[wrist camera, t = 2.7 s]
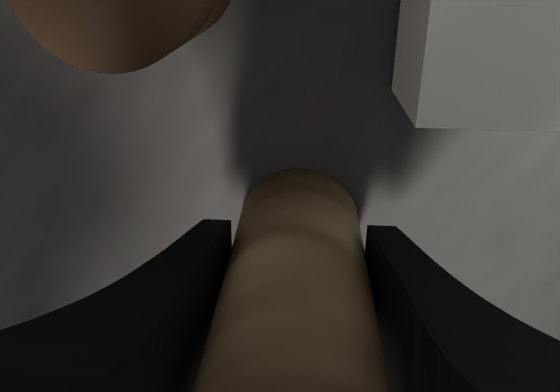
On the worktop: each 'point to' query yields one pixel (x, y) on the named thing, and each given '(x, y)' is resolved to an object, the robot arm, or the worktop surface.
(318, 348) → the oak dowel
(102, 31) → the walnut dowel
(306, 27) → the worktop surface
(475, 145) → the worktop surface
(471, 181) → the worktop surface
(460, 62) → the socket block
